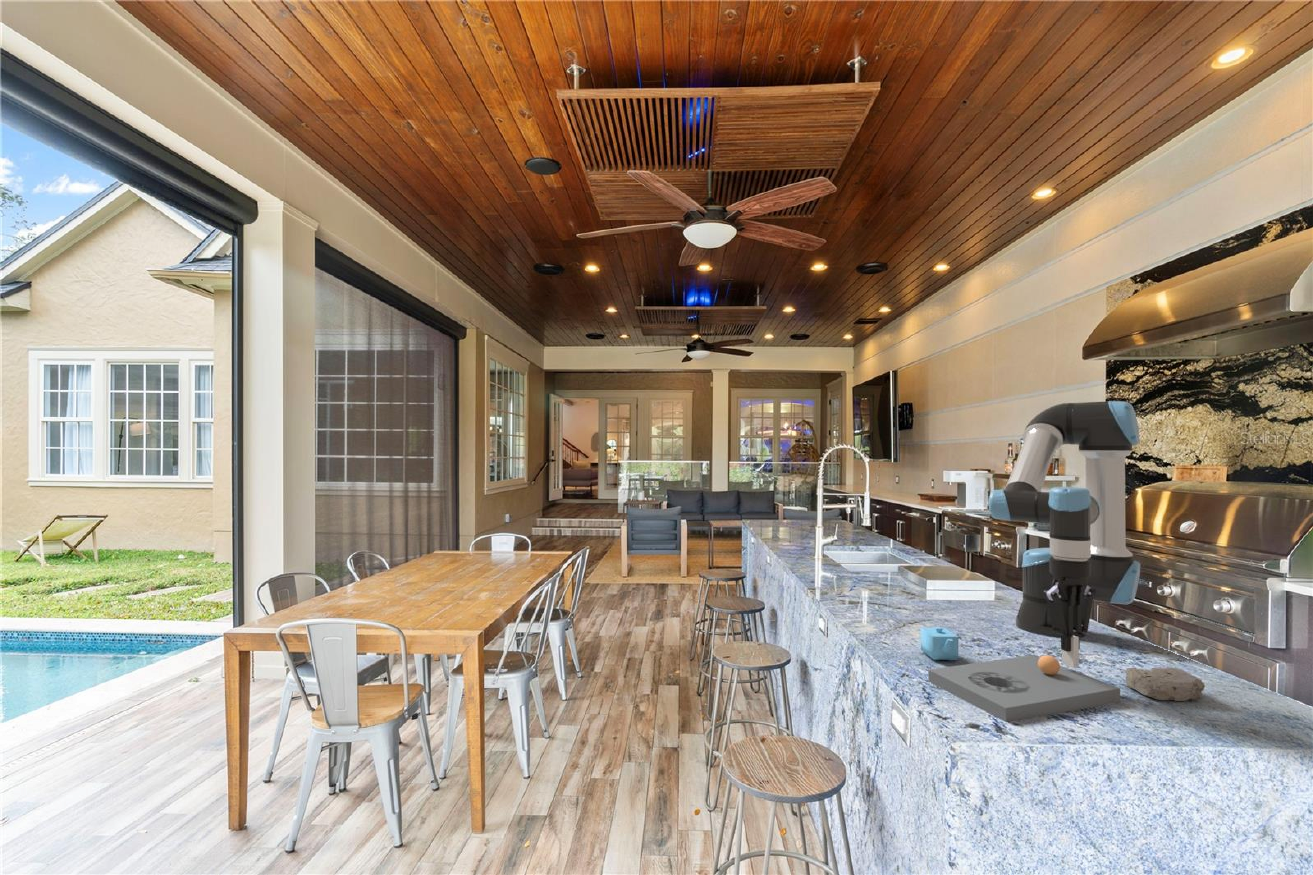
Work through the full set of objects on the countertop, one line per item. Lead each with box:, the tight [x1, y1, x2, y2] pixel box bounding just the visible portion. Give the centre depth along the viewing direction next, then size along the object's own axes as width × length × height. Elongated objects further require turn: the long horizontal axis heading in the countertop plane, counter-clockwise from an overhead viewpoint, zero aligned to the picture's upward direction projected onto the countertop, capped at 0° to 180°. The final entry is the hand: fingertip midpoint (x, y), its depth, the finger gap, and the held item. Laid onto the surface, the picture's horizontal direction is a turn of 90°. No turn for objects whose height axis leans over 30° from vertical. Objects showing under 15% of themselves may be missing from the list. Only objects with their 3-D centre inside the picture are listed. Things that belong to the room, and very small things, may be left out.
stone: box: [1125, 666, 1206, 702], centre depth 127 cm, size 13×6×10 cm
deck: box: [927, 654, 1121, 723], centre depth 128 cm, size 30×20×3 cm, turn 107°
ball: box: [1038, 654, 1061, 675], centre depth 130 cm, size 4×4×4 cm
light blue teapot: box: [920, 626, 959, 662], centre depth 147 cm, size 12×6×8 cm, turn 178°
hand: (1070, 665), depth 132 cm, fingers closed
